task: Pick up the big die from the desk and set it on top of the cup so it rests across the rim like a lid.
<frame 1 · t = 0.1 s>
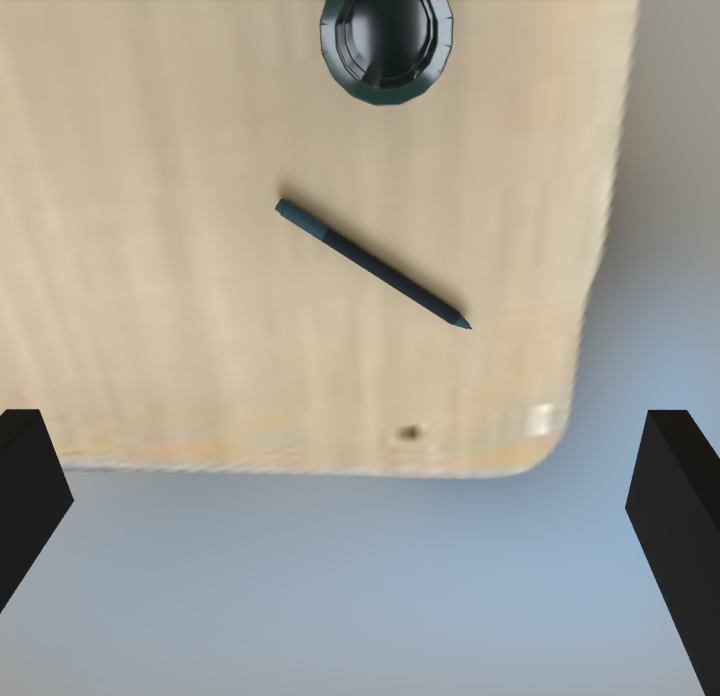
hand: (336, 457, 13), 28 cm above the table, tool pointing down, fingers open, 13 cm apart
cup: (388, 29, 34), on the table
pen: (378, 263, 41), on the table
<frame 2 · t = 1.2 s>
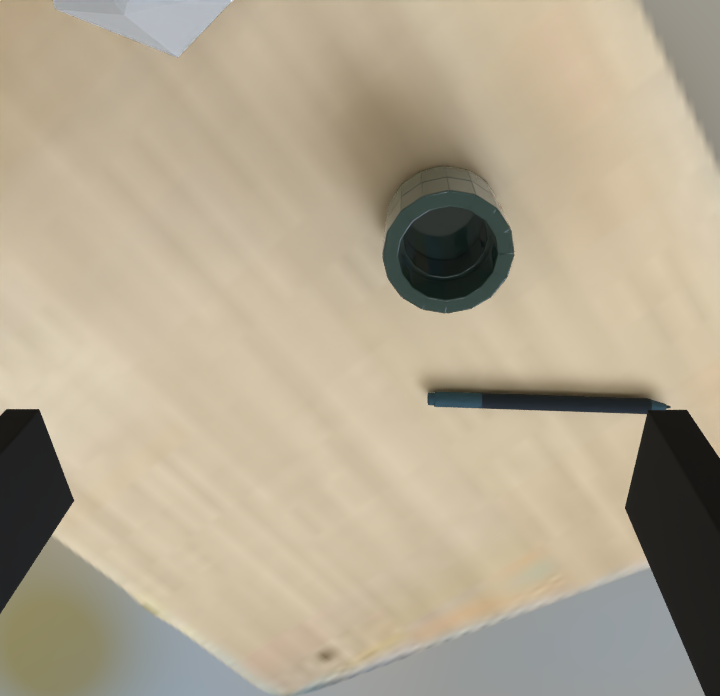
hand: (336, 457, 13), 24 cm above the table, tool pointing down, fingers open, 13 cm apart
cup: (442, 220, 35), on the table
pen: (543, 395, 40), on the table
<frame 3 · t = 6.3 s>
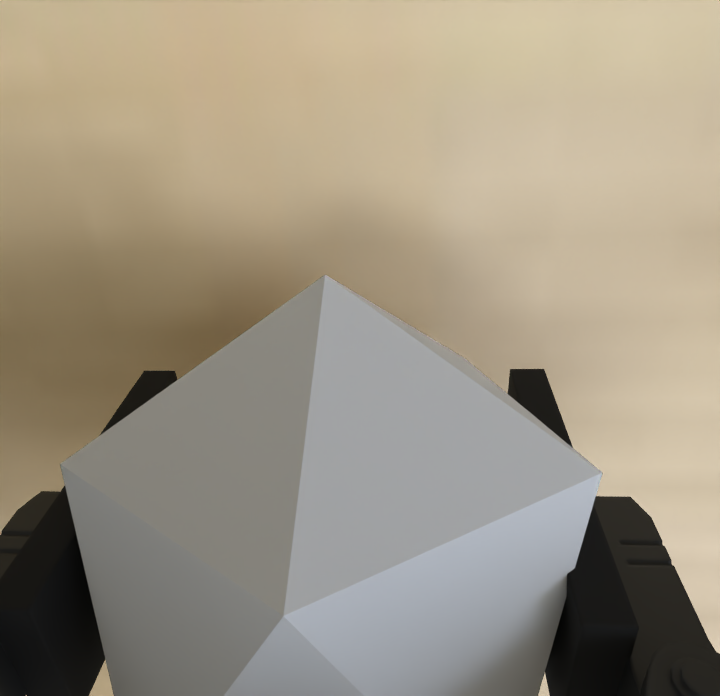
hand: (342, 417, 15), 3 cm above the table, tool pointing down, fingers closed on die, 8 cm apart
die: (354, 405, 15), point 3 cm above the table, touching gripper
when the fingers open (6 cm above the table, at t = 11.4 s): die stays where it is, resting on cup.
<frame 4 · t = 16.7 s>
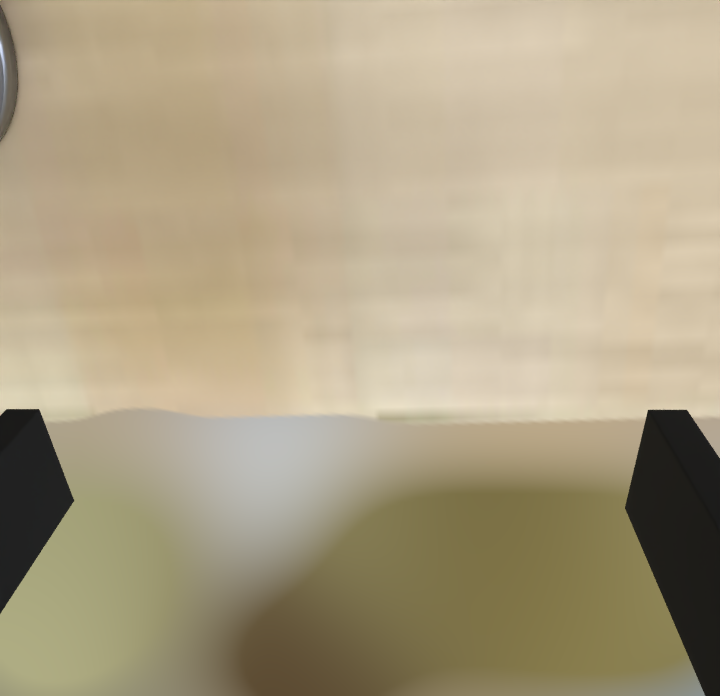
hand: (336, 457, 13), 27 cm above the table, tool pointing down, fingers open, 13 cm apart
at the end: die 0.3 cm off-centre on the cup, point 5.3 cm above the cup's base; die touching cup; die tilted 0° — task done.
